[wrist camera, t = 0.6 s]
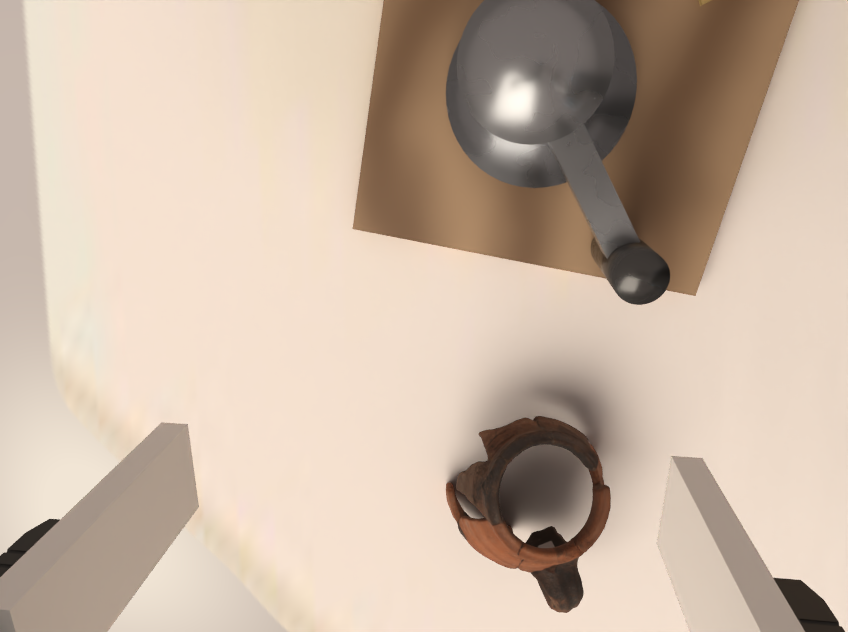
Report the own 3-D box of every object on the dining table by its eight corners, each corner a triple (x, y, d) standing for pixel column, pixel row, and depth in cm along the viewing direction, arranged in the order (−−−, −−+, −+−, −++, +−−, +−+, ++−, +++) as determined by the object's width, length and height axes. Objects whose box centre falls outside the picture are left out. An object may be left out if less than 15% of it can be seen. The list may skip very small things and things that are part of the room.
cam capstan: (414, 57, 30) (396, 46, 24) (582, -51, 28) (608, -92, 22) (545, 303, 33) (558, 346, 27) (704, 225, 31) (755, 253, 25)
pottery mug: (411, 451, 40) (438, 469, 32) (529, 383, 42) (583, 383, 34) (496, 614, 40) (544, 673, 32) (610, 537, 42) (684, 574, 34)
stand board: (824, -106, 27) (875, -137, 24) (688, 289, 34) (712, 311, 30) (401, -178, 28) (389, -220, 24) (348, 222, 34) (332, 236, 31)
